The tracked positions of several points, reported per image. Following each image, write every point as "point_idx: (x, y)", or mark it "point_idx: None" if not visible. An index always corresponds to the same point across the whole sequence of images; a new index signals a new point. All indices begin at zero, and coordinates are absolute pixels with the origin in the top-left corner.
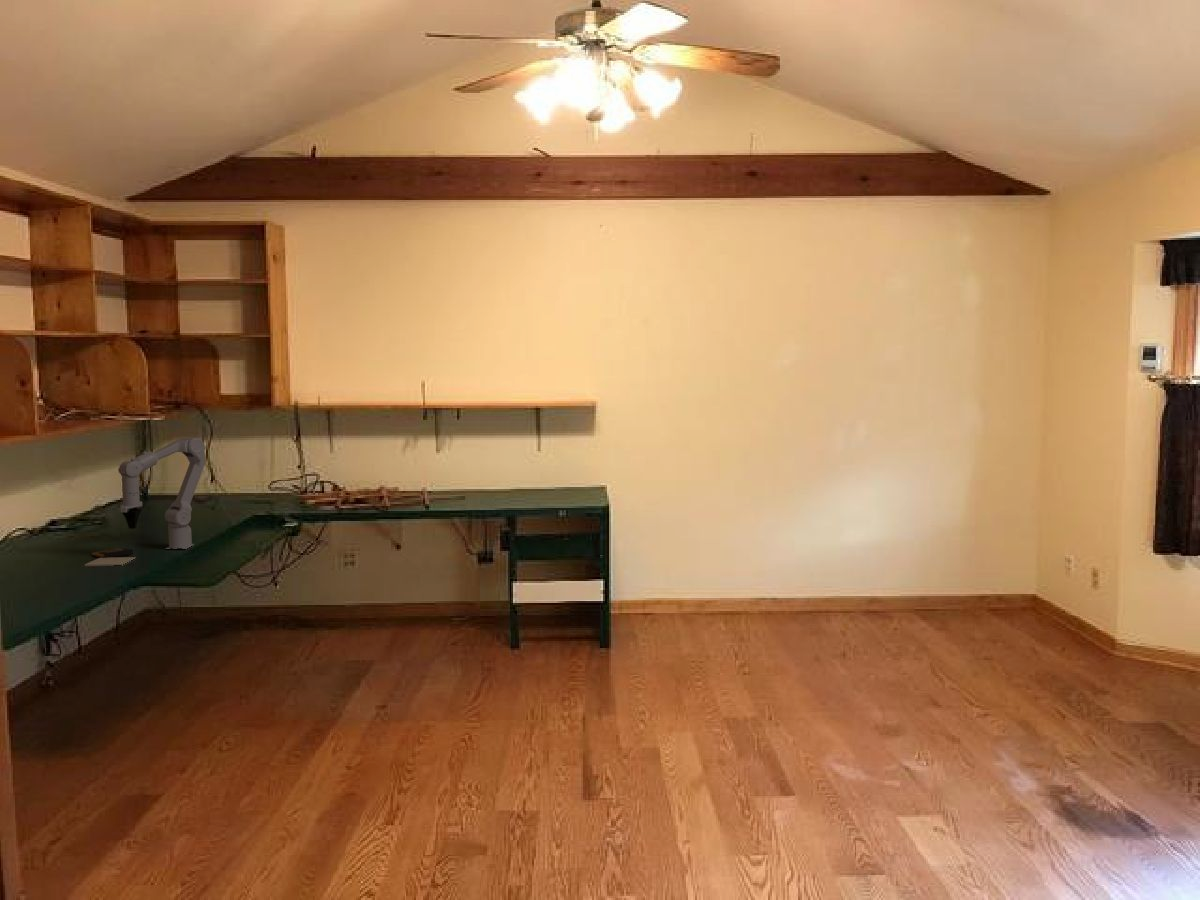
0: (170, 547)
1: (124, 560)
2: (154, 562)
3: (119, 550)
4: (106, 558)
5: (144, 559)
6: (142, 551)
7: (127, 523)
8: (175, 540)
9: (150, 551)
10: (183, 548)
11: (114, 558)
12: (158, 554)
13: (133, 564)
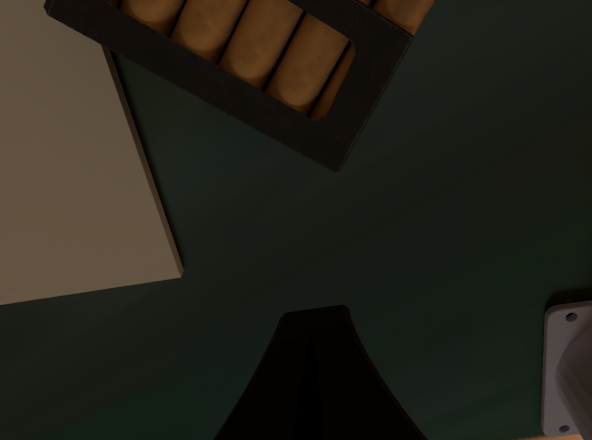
0: (578, 342)
1: (41, 263)
2: (114, 435)
3: (316, 20)
4: (51, 47)
5: (182, 336)
6: (508, 141)
7: (254, 372)
8: (588, 436)
9: (504, 213)
10: (552, 423)
11: (79, 130)
12: (375, 335)
13: (11, 354)
